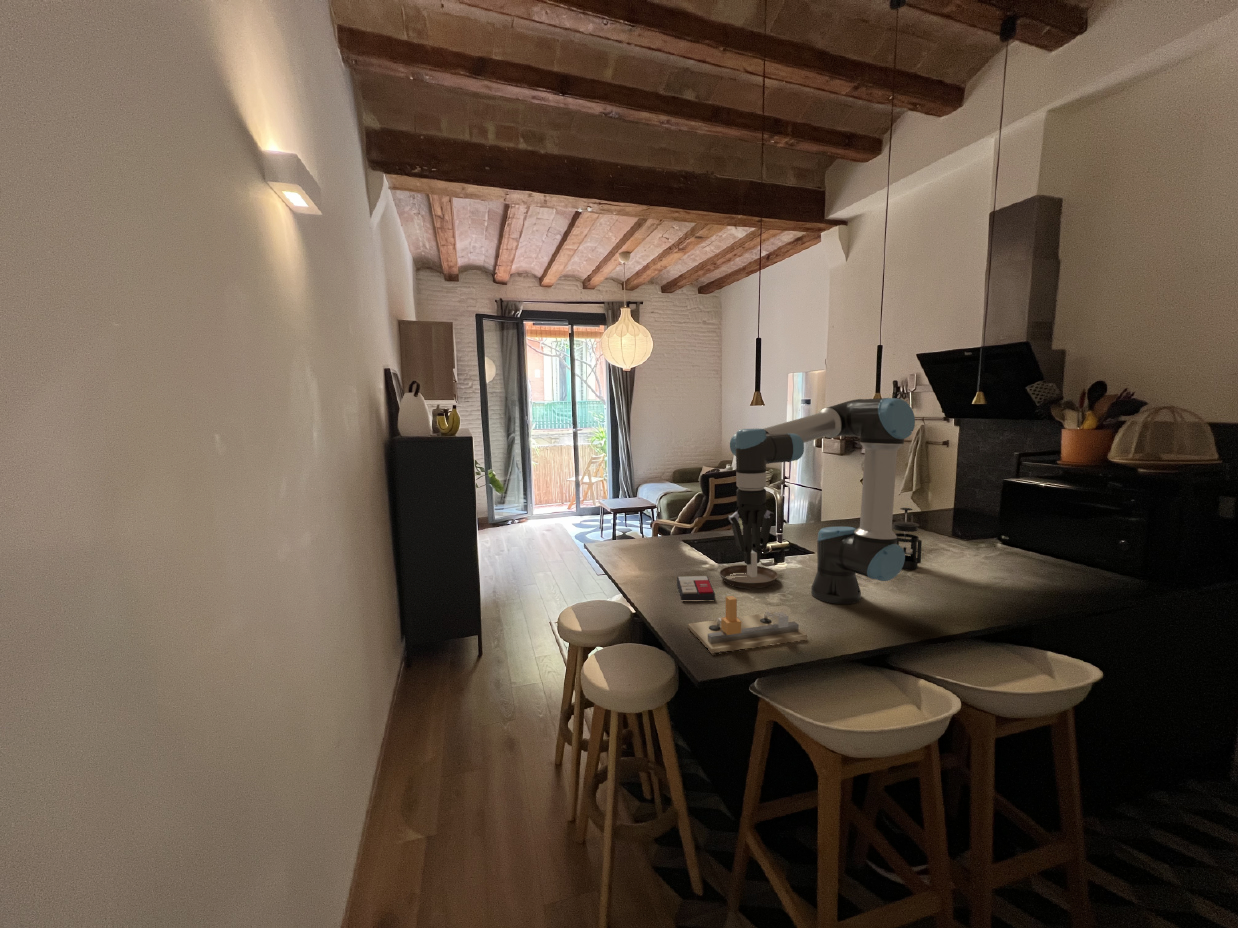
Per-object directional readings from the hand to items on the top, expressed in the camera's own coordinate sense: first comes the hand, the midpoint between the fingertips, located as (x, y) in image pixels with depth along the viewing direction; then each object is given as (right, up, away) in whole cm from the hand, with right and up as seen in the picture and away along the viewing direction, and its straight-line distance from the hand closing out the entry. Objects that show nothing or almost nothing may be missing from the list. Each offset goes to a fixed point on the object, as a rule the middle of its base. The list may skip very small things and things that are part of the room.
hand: (752, 575), depth 134 cm
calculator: (-9, -15, +39) cm, 42 cm away
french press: (+76, -10, +61) cm, 98 cm away
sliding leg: (-6, -16, +3) cm, 18 cm away
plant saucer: (+12, -13, +49) cm, 53 cm away
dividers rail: (0, -16, +5) cm, 17 cm away
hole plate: (0, -18, +6) cm, 19 cm away
